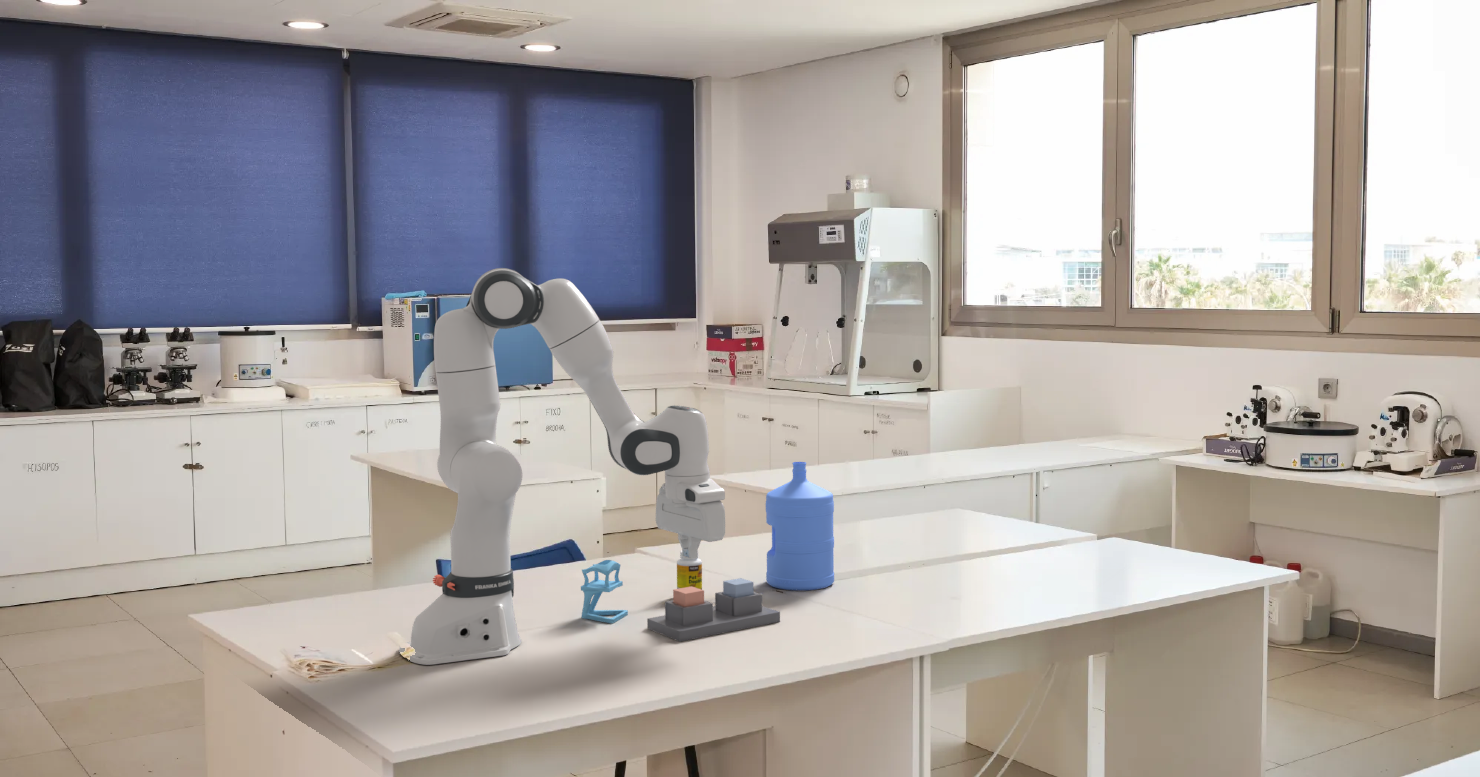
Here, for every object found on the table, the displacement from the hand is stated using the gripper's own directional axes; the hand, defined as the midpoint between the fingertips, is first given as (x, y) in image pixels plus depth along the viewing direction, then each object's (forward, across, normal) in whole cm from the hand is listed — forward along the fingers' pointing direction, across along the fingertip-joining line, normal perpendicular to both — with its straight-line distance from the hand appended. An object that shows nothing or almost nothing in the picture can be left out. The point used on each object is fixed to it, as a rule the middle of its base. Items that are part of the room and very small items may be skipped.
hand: (690, 557), depth 240 cm
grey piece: (+15, 0, +5) cm, 16 cm away
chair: (+14, -19, -10) cm, 26 cm away
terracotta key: (+9, 0, -1) cm, 10 cm away
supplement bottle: (+15, -23, +14) cm, 31 cm away
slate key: (+10, 0, +11) cm, 15 cm away
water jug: (+16, -18, +41) cm, 48 cm away
